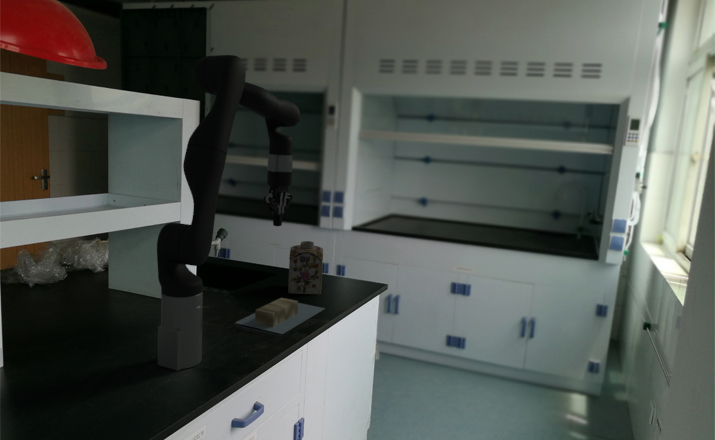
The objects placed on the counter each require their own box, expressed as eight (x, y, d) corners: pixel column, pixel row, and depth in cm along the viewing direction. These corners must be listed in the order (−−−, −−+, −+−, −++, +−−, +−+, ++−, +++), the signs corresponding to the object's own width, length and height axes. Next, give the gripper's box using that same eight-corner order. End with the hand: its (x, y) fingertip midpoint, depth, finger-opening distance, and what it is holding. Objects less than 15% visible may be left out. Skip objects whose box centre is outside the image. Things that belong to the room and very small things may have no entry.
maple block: (297, 313, 160) (272, 327, 147) (280, 309, 163) (255, 323, 150) (298, 301, 160) (273, 313, 147) (281, 297, 162) (255, 309, 149)
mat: (282, 336, 143) (282, 334, 143) (234, 325, 149) (234, 322, 149) (325, 310, 167) (325, 308, 167) (282, 301, 173) (282, 299, 173)
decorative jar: (321, 287, 193) (323, 239, 190) (321, 296, 181) (324, 246, 179) (288, 286, 192) (290, 238, 189) (287, 295, 180) (289, 244, 178)
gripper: (281, 168, 166) (279, 222, 168) (256, 169, 154) (254, 226, 156) (301, 170, 163) (299, 225, 165) (278, 171, 151) (275, 229, 153)
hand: (277, 225), depth 161 cm, fingers closed
